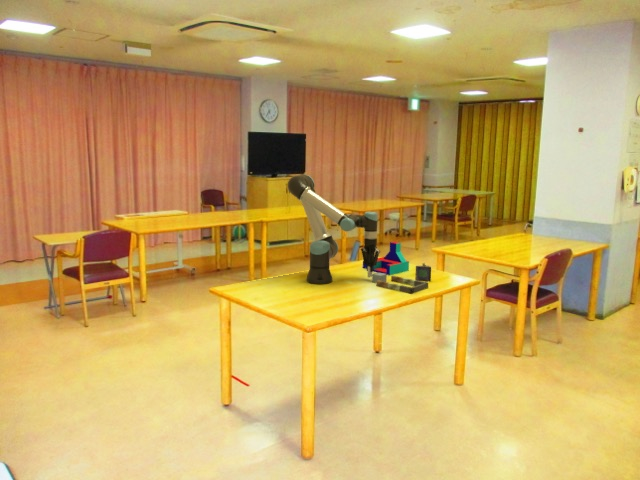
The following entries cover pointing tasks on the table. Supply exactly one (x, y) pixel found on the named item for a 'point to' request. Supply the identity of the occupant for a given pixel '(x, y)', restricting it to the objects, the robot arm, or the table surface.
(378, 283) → the channel rails
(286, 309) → the table surface
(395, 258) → the building blocks toy
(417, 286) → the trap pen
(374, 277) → the block
